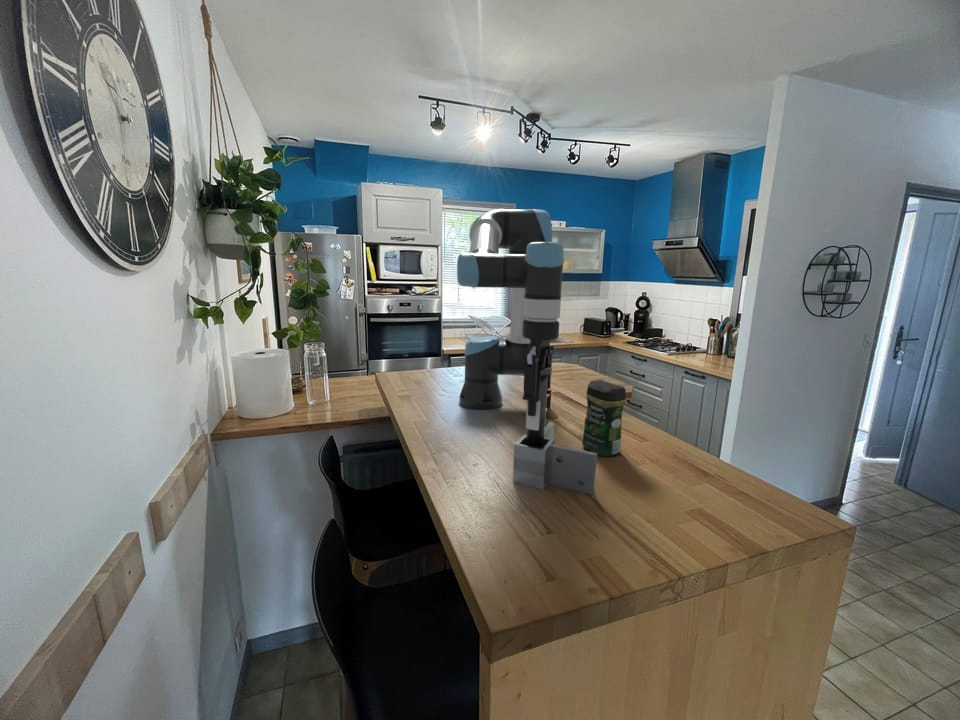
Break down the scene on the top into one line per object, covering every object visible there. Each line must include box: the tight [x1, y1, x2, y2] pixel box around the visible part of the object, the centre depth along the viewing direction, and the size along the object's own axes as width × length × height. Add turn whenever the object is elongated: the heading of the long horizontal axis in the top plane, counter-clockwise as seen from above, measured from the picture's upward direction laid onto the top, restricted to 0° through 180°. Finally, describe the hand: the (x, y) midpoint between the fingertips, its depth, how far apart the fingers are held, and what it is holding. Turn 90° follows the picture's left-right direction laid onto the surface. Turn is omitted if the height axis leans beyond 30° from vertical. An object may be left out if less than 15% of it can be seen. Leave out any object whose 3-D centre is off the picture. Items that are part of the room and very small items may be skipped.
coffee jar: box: [581, 379, 627, 457], centre depth 108 cm, size 10×8×19 cm
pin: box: [525, 366, 553, 447], centre depth 90 cm, size 6×6×17 cm
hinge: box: [512, 421, 598, 496], centre depth 95 cm, size 17×17×9 cm
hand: (535, 425), depth 91 cm, fingers closed on pin, 4 cm apart
